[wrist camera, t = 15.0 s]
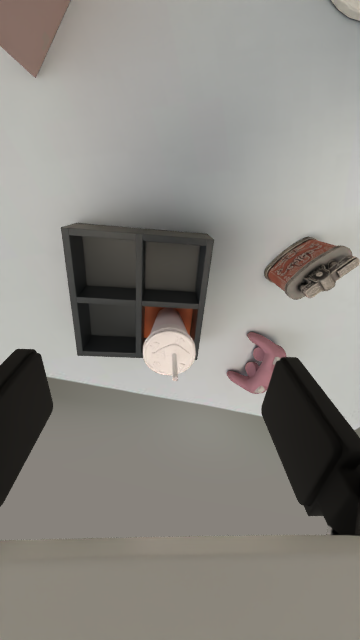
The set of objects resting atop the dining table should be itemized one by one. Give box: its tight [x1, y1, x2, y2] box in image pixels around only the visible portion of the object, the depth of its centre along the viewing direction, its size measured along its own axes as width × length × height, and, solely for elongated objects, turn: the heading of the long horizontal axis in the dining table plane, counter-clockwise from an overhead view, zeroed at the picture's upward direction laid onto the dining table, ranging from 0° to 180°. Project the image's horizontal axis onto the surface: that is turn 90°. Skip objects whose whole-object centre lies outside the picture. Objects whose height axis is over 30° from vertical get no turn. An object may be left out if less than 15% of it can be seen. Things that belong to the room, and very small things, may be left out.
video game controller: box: [227, 332, 286, 394], centre depth 40 cm, size 10×5×7 cm, turn 161°
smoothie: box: [143, 308, 196, 381], centre depth 31 cm, size 6×6×14 cm
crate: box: [61, 223, 214, 360], centre depth 33 cm, size 17×17×5 cm
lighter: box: [264, 237, 359, 300], centre depth 30 cm, size 8×3×10 cm, turn 131°
